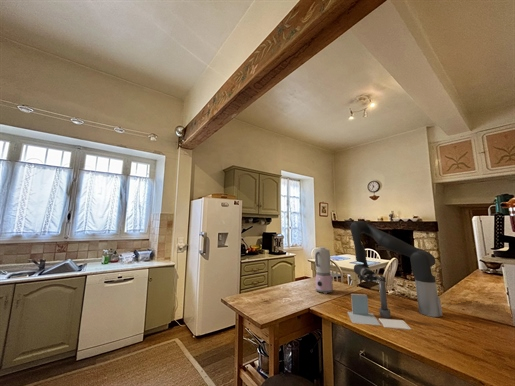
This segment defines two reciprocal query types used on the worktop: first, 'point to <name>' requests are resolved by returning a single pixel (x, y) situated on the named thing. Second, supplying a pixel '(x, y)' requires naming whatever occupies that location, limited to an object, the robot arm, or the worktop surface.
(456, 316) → the worktop surface
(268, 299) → the worktop surface
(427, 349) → the worktop surface
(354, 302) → the tile
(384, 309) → the grey pestle
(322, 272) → the blender
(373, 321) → the mat
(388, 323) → the board
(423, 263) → the robot arm
